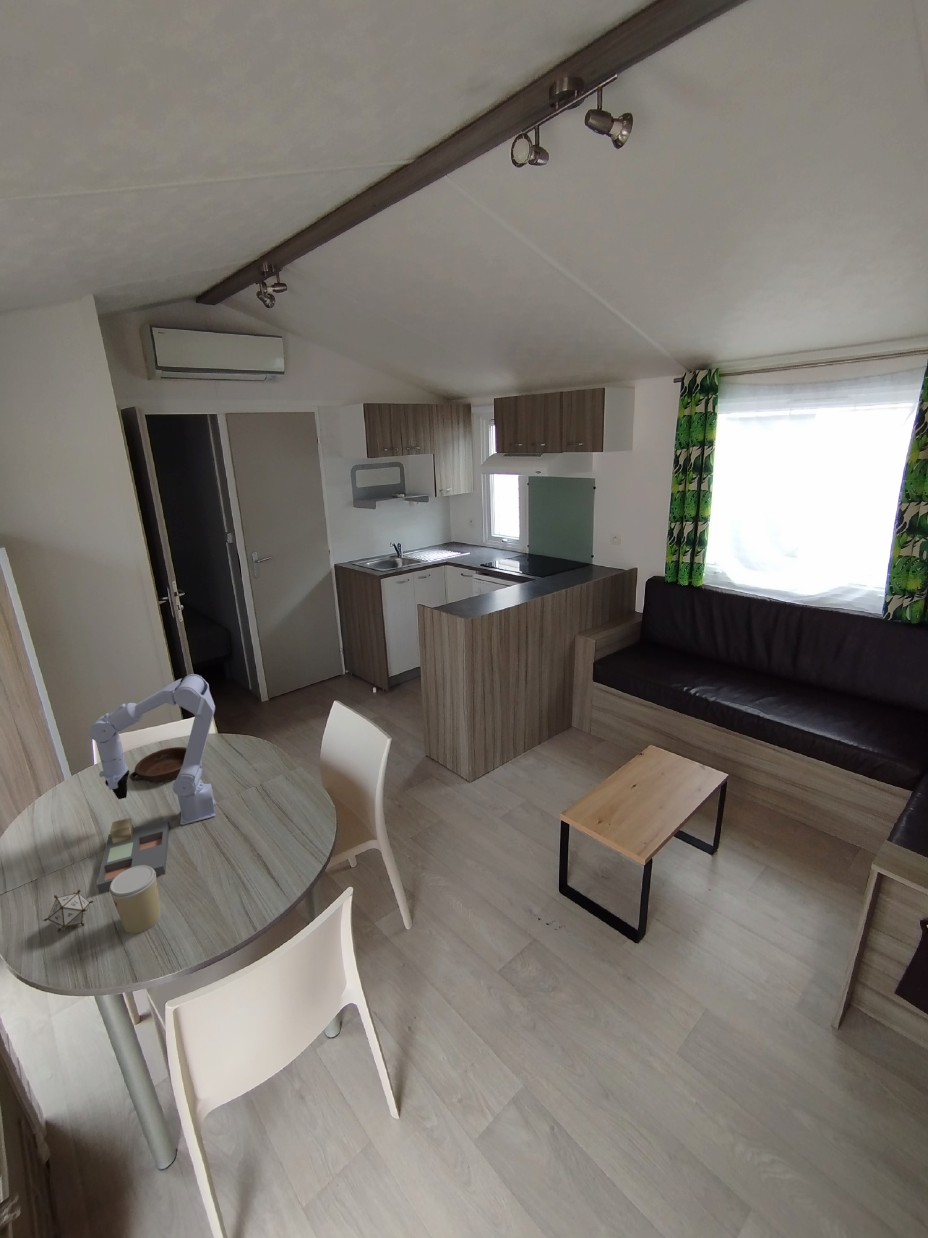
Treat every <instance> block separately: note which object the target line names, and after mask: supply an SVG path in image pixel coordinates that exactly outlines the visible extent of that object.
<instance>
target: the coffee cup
mask: <svg viewBox="0 0 928 1238" xmlns="http://www.w3.org/2000/svg"><path fill="white" fill-rule="evenodd" d="M108 891H109V894H110V896H111V898H112V901H113V904H114V907H115V908H116V911H117V913H118V914H117V915H119V918H120V922H121V924H122V926H123V928H124V930H125V931H126V932H127V933H129V934H139V933H140V934H141V933H143V932H145V931H148V930H149V929H150V928H152V927H154V926H155V925H156V924H157V923H158V922H159V920H160V919H161V915H162V911H161V910H162V909H161V903H160V901H161V900H160V895H159V889H158V881H157V876H156V872H155V870H154V869H152V868H151V867H149V866H145V865H141V866H135V867H132V868H129V869H127V870H125V871H123V872H122V873H120V874H119V875H117V876H116V877H115V878H114V880H113V881H112V883H111V885H110V889H109V890H108Z"/></svg>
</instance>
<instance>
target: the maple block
mask: <svg viewBox="0 0 928 1238" xmlns="http://www.w3.org/2000/svg"><path fill="white" fill-rule="evenodd" d="M111 822H112V823H111V827H110V829H109V830H110V831H109V832H110V833H109V834H111V837H112V841H113V844H115V843H119V842H122V841H126V840H130V839H132V836H133V830H134V829H133V828H134V825H133V822H132V817H128V818H123V819H118V820H115V821H111Z"/></svg>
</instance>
